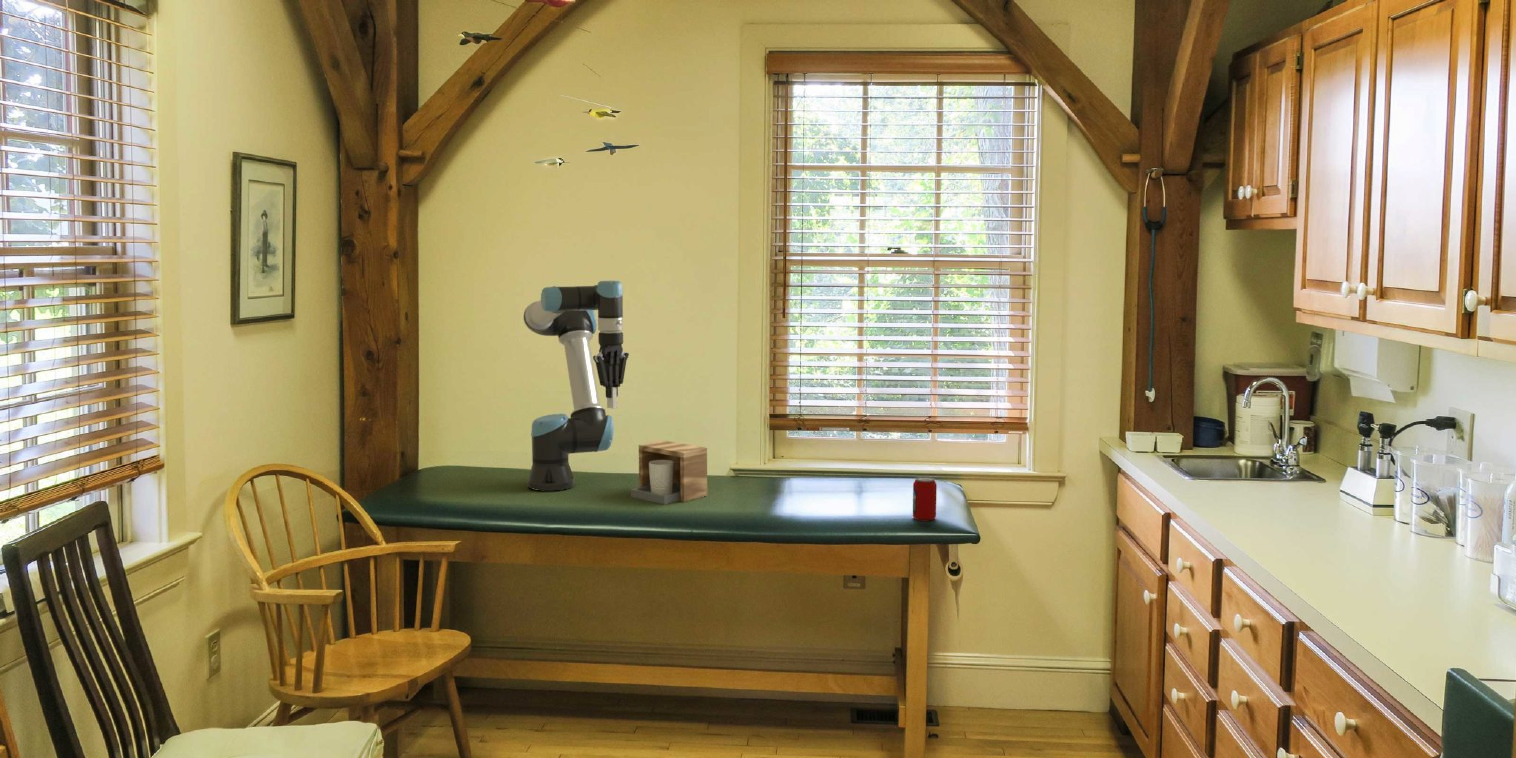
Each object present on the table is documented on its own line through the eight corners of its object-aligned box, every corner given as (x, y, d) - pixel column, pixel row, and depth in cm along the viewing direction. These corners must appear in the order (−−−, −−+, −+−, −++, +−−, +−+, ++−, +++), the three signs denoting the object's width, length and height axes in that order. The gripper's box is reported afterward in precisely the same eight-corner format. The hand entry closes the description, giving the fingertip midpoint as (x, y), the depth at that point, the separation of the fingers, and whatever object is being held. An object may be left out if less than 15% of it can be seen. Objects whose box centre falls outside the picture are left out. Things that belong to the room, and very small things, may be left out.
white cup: (671, 496, 360) (671, 465, 359) (646, 495, 361) (646, 464, 360) (676, 490, 368) (676, 459, 367) (652, 490, 369) (651, 459, 368)
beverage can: (919, 514, 342) (919, 475, 340) (939, 518, 338) (940, 477, 336) (908, 519, 336) (909, 479, 335) (929, 523, 332) (930, 482, 331)
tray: (630, 496, 364) (630, 489, 364) (664, 488, 375) (664, 481, 375) (664, 504, 354) (664, 496, 354) (698, 495, 366) (698, 487, 365)
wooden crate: (639, 492, 370) (638, 444, 368) (662, 486, 378) (662, 440, 376) (684, 502, 357) (683, 452, 355) (707, 496, 365) (707, 447, 363)
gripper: (603, 333, 345) (604, 411, 348) (634, 330, 355) (635, 406, 358) (586, 332, 349) (587, 409, 353) (618, 329, 359) (619, 404, 363)
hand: (612, 407), depth 355 cm, fingers closed
